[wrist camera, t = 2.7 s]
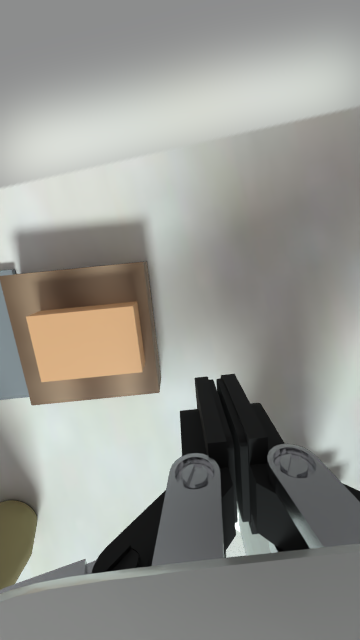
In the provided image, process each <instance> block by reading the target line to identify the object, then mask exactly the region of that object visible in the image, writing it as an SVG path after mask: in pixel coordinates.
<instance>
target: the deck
mask: <svg viewBox="0 0 360 640" xmlns="http://www.w3.org/2000/svg"><path fill="white" fill-rule="evenodd" d="M0 283H1V287H2V291H3V295H4V298H5V302H6V306H7V310H8V314H9V318H10V322H11V326H12V330H13V334H14V338H15V342H16V346H17V350H18V354H19V358H20V362H21V365H22V369H23V373H24V377H25V381H26V385H27V389H28V393H29V397H30V401H31V405H40V404H51V403H61V402H71V401H81V400H91V399H101V398H111V397H121V396H131V395H141V394H151V393H159V392H160V382H161V373H160V365H159V357H158V348H157V340H156V332H155V324H154V316H153V307H152V299H151V291H150V283H149V275H148V266H147V261H146V262H136V263H126V264H116V265H106V266H95V267H85V268H75V269H65V270H55V271H45V272H34V273H24V274H14V275H4V276H0ZM135 301H137V304H138V311H139V319H140V326H141V333H142V341H143V348H144V356H145V364H144V368H143V372H140V373H130V374H120V375H110V376H100V377H90V378H80V379H70V380H60V381H49V382H41V378H40V374H39V370H38V366H37V361H36V357H35V353H34V349H33V345H32V340H31V336H30V332H29V328H28V324H27V320H26V316H29V315H31V314H34V313H36V312H39V311H44V310H54V309H64V308H75V307H85V306H95V305H105V304H115V303H125V302H135Z"/></svg>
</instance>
